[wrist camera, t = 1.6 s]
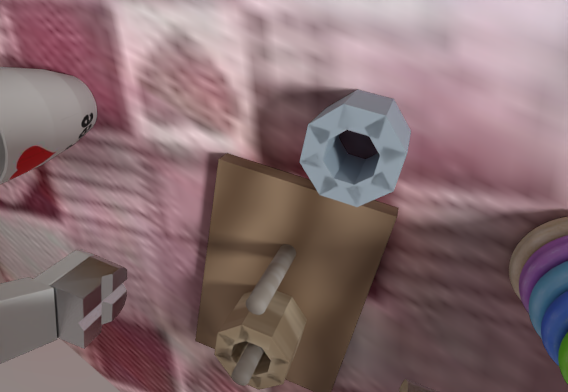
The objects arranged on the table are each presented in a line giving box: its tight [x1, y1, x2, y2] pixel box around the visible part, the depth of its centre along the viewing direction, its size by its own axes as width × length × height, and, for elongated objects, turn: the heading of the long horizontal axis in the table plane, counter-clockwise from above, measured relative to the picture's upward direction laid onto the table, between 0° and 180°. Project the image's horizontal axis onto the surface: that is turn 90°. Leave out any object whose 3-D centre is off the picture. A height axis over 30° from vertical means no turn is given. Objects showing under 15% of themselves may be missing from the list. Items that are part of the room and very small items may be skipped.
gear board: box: [195, 153, 398, 392], centre depth 32 cm, size 14×20×8 cm
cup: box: [0, 67, 97, 184], centre depth 32 cm, size 8×8×10 cm
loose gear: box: [300, 89, 411, 207], centre depth 27 cm, size 6×6×5 cm
